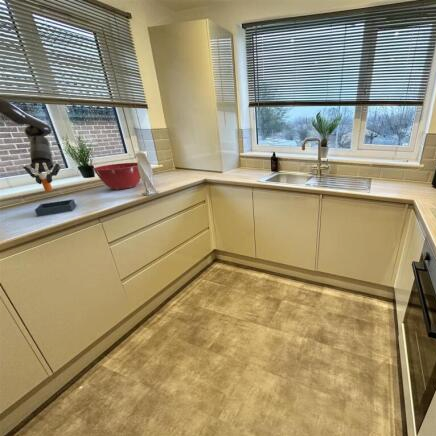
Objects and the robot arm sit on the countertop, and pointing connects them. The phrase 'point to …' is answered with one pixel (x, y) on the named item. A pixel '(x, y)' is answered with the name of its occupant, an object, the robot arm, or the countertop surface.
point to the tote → (55, 207)
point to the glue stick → (45, 182)
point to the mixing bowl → (119, 175)
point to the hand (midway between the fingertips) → (44, 182)
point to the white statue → (146, 173)
